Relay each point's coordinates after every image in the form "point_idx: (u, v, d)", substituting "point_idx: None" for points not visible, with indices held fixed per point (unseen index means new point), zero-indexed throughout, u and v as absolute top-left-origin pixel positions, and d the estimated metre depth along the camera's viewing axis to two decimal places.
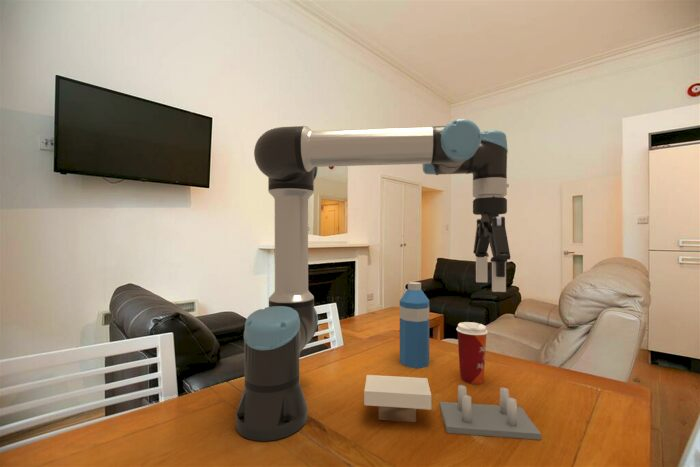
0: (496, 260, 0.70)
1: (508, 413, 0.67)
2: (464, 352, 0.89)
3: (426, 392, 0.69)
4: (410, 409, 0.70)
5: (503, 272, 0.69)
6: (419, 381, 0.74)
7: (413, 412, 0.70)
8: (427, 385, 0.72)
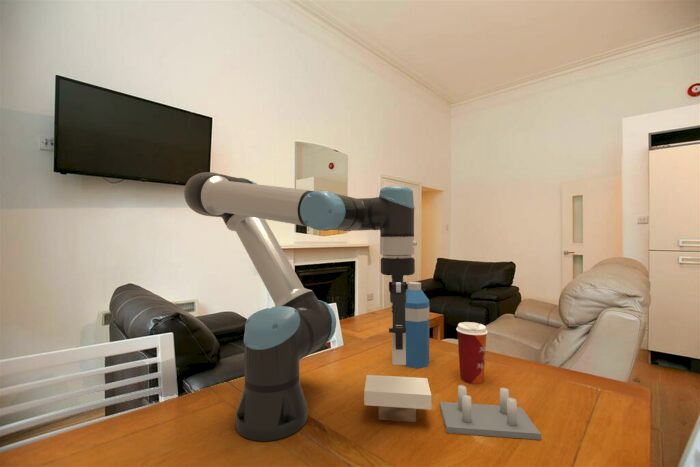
0: (394, 331, 0.64)
1: (508, 413, 0.67)
2: (464, 352, 0.89)
3: (426, 392, 0.69)
4: (410, 409, 0.70)
5: (401, 345, 0.64)
6: (419, 381, 0.74)
7: (413, 412, 0.70)
8: (427, 385, 0.72)
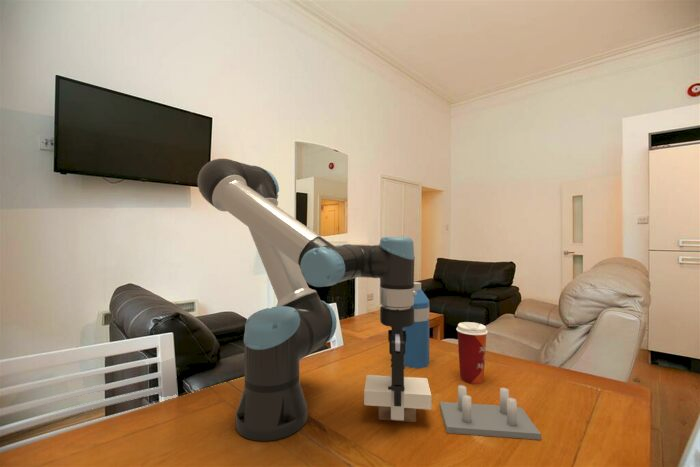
0: None
1: (508, 413, 0.67)
2: (464, 352, 0.89)
3: (426, 392, 0.69)
4: (410, 409, 0.70)
5: (399, 402, 0.67)
6: (419, 381, 0.74)
7: (413, 412, 0.70)
8: (427, 385, 0.72)
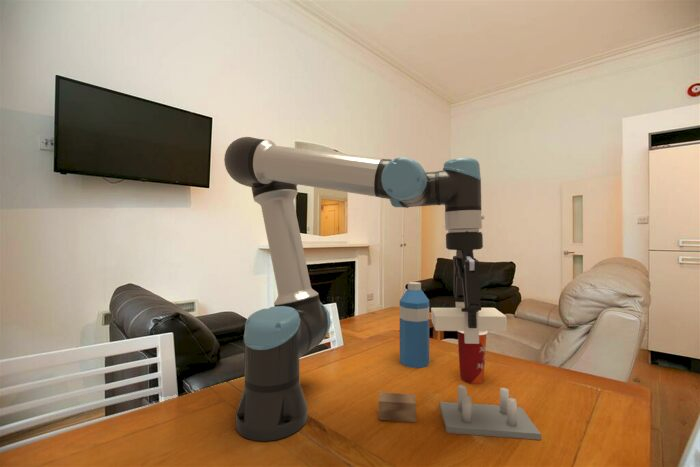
0: (467, 311, 0.65)
1: (508, 413, 0.67)
2: (464, 352, 0.89)
3: (500, 315, 0.67)
4: (410, 409, 0.70)
5: (475, 323, 0.64)
6: (488, 309, 0.72)
7: (413, 412, 0.70)
8: (498, 311, 0.70)
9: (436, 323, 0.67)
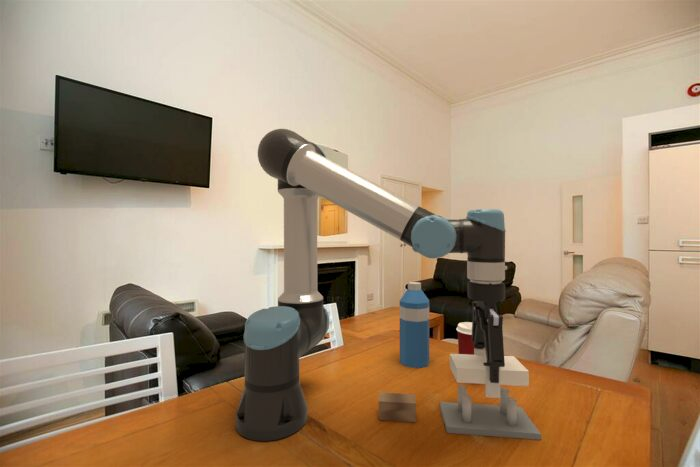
0: (489, 365, 0.64)
1: (508, 413, 0.67)
2: (464, 352, 0.89)
3: (522, 368, 0.66)
4: (410, 409, 0.70)
5: (497, 378, 0.64)
6: (508, 359, 0.71)
7: (413, 412, 0.70)
8: (518, 362, 0.69)
9: (457, 375, 0.67)
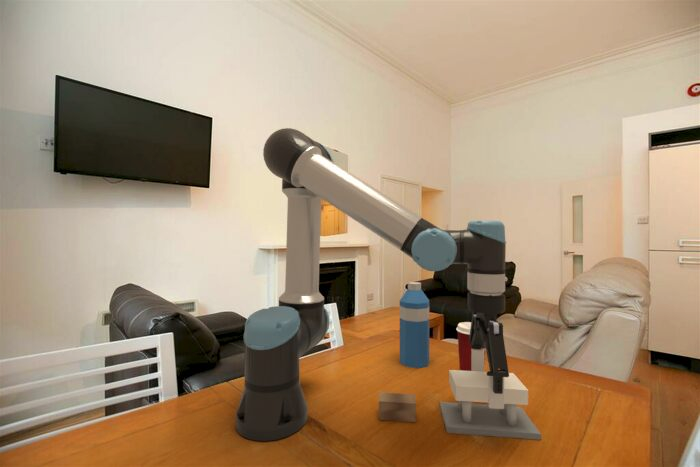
0: (493, 375, 0.62)
1: (508, 413, 0.67)
2: (464, 352, 0.89)
3: (521, 387, 0.66)
4: (410, 409, 0.70)
5: (501, 389, 0.62)
6: None
7: (413, 412, 0.70)
8: (518, 380, 0.69)
9: (457, 393, 0.67)
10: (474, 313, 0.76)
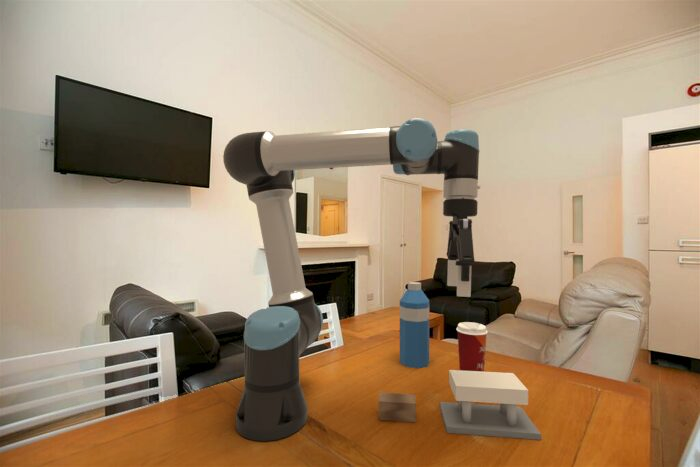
0: (461, 264, 0.67)
1: (508, 413, 0.67)
2: (464, 352, 0.89)
3: (521, 387, 0.66)
4: (410, 409, 0.70)
5: (467, 276, 0.67)
6: (507, 376, 0.71)
7: (413, 412, 0.70)
8: (518, 380, 0.69)
9: (457, 393, 0.67)
10: None
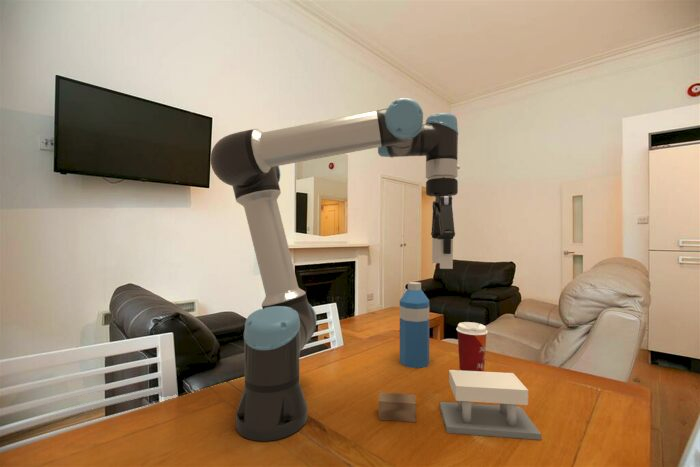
0: (442, 237, 0.72)
1: (508, 413, 0.67)
2: (464, 352, 0.89)
3: (521, 387, 0.66)
4: (410, 409, 0.70)
5: (449, 249, 0.72)
6: (507, 376, 0.71)
7: (413, 412, 0.70)
8: (518, 380, 0.69)
9: (457, 393, 0.67)
10: None
